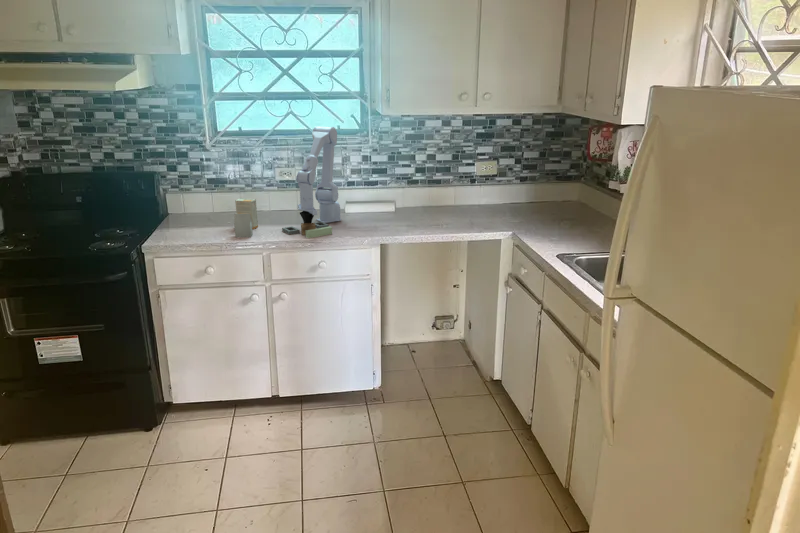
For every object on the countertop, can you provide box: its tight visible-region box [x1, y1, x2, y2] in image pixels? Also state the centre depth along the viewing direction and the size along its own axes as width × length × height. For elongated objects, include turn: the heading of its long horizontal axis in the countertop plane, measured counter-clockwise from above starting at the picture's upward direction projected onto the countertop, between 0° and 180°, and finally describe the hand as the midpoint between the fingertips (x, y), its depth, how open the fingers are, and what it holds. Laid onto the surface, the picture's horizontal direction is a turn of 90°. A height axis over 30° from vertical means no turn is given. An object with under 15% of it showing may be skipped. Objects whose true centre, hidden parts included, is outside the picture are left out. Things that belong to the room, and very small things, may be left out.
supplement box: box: [234, 197, 259, 230], centre depth 273 cm, size 8×5×13 cm, turn 74°
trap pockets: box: [281, 221, 333, 239], centre depth 269 cm, size 20×16×3 cm
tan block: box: [300, 222, 317, 236], centre depth 267 cm, size 6×5×4 cm
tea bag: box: [233, 213, 253, 238], centre depth 260 cm, size 4×7×10 cm, turn 93°
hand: (307, 227), depth 271 cm, fingers closed
